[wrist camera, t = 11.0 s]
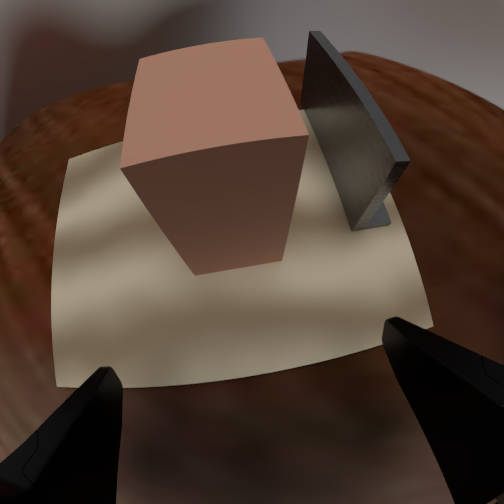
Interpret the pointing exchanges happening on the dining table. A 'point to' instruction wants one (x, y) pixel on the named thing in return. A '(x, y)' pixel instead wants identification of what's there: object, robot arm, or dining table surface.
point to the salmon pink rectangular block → (216, 152)
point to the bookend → (351, 135)
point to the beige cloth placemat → (218, 286)
